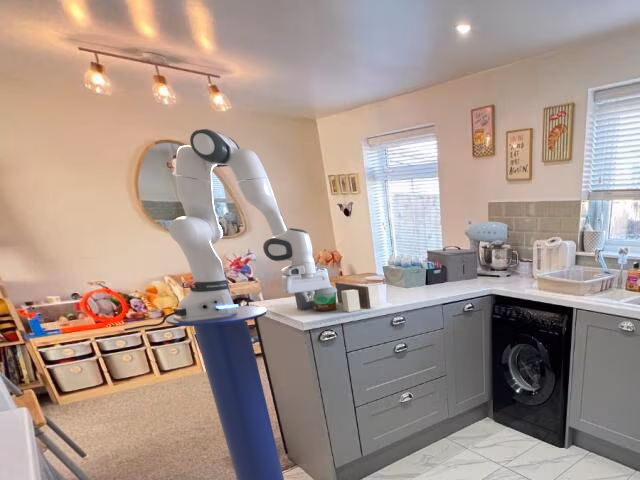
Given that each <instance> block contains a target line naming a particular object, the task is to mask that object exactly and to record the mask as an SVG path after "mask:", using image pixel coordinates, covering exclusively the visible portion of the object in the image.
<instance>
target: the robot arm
mask: <svg viewBox="0 0 640 480" xmlns="http://www.w3.org/2000/svg"><path fill="white" fill-rule="evenodd" d="M189 144H190V145H182V146H179V148H177V152H176V157H175V179H176V180H175V181H176V195H177V198H178V200H179V201H180V203H181V205H182V208H183V211H184V214H185V215H183V216H179V217H177V218H175V219H173V220H171V221H170V223H169V225H168V234H169V235H170V237H171V238H172V239H173V240H174V241H175V242H176V243H177V244H178V246H179V247H180V249H181V251H182V252H183V255H184V256H185V259H186V260H187V263H188V266H189V269H190V271H191V272H190V273H191V276H192V279H193V281H192V282H185V283H184V287H186V289H187V288H188V289H189V290H190V292H188V293H187V294H186V295H185V296H184V297H183V298H181V300H180V301H179V302H178V305H177V307H176V308H175V307H174V308H173V309H172V310H173V312H170V313H168V314H166V315H165V316H164V317H163V318H162V321H160V322H159V323H158V322H157V323H153V324H142V325H138V326H131V327H127V328H123V330H124V332H127V331H132V330H137V329H141V328H149V327H159V326H161V325H163V324H164V323H165V322H166V318H167V317H169V316H171V315H174V314H175V315H174V316H173V319H174V320H177V321H182V322H189V321H198V320H206V319H214V318H222V317H230V316H232V315H233V314H236V313H238V311H237V309H236V307H238V306H239V304H235V303H234V301H233V298H232V296H231V291H230V284H229V282H228V279H226V275H225V271H224V267H223V263H222V260H221V259H220V257H219V256H218V255H217V253H216V251H215V250H214V248H213V246H212V245H214V244H217V243H218V242H219V241H220V240H221V239H222V237H223V235H224V234H223V233H224V232H223V229H222V227H221V225H220V223H219V221H218V216H217V213H216V210H215V204H214V195H213V194H214V192H213V175H212V173H213V169H214V167H217V168H223V167H228V168H230V169H231V171H232V173H233V175H234V177H235V180H236V182H237V185H238V188H239V191H240V192H241V194H242V195H243V197H244V199H245V201H246V202H247V203H248V204H250V205H252V206H253V207H255V208H256V209H257V210H258V211H260V212H261V213H262V215H263V216H264V218H265V219H266V220H265V221H266V222H267V225H268V226H269V229H270V231H271V234H272V237H269V238H268V239H266V240H265V241H264V242H263V246H262V248H263V249H262V250H263V252H264V254H265V256H266V257H267V258H268V259H270V260H271V261H275V262H285V261H291V264H290V265H287V266H286V267H283V268H281V269H280V273H281V279H280V281H281V282H280V283H281V290H282V292H283V293H285V294H295V293H297V292H302V294H303V296H304V297H305V298H306V302H309V301H313V296H314V294H315V291H314V290H319V289H329V288H330V286H332V285H331V280H330V278H329V277H330V276H329V272H328V270H327V268H325V267H316V262H315V259H314V256H313V253H314V252H313V245H312V241H311V237H310V235H309V232H308V231H306V230H304V229H300V228H295V227H294V228H293V227H291V228H288V227H287V225H286V221H285V219H284V217H283V214H282V212H281V210H280V208H279V206H278V203H277V200H276V197H275V195H274V191H273V189H272V185H271V182H270V179H269V177H268V173H267V172H266V170H265V167H264V165H263V163H262V162H261V159H260V158H259V156H258V155H257V153H256V152H254V151H253V150H251V149H248V148H240V147H239V145H238V143H236V141H235V140H234V139H232V138H231V137H230V136H227V135H225V134H223V133H221V132H219V131H215V130H211V129H208V128H199V129H196V130H194V131H193V132H192V133H191V134H190V138H189ZM307 291H309V293H310V296H309V297H308V296H307V294H308V293H307Z"/></svg>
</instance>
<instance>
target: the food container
mask: <svg viewBox="0 0 640 480" xmlns="http://www.w3.org/2000/svg"><path fill="white" fill-rule="evenodd" d="M314 291H315V294H314V296H313V301H312V303H313V307H314V308H313V310H314V311H316V312H332V311H335V310H337V289H336V286H334V288H330V289H319V290H314ZM308 293H309V291H308Z"/></svg>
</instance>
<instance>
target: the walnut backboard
mask: <svg viewBox="0 0 640 480" xmlns="http://www.w3.org/2000/svg"><path fill="white" fill-rule="evenodd" d="M334 284H335V285H334V286H335V287H336V289H337V292H336V300H337V303H341V304H343V301H342V294H341V291H345V290H352V289H353V290H358V295H359V303H360V308H362V309H367V310H369V309H371V299H370V292H369V290H370V289H369V286H365V285H359V284H353V283H347V282H346V283H345V282H339V281H338V282H334Z"/></svg>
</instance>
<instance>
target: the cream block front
mask: <svg viewBox="0 0 640 480" xmlns="http://www.w3.org/2000/svg"><path fill="white" fill-rule="evenodd" d="M341 294H342V301H343V303H342V309H343V311H344V312H347V313H350V312H351V313H352V312H356V311H357V312H358V311H361V307H360V303H359V295H358V290H353V289H352V290H345V291H341Z"/></svg>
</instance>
